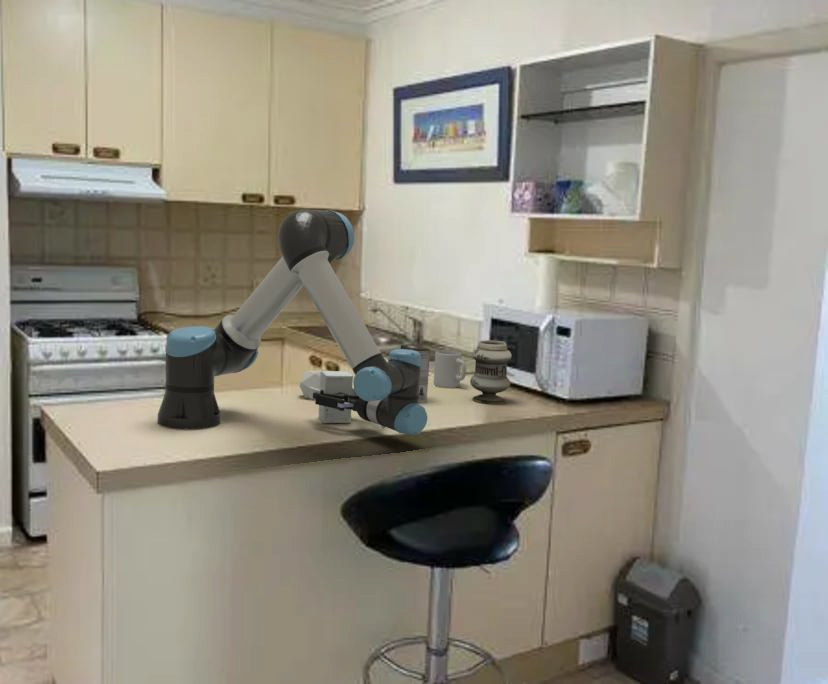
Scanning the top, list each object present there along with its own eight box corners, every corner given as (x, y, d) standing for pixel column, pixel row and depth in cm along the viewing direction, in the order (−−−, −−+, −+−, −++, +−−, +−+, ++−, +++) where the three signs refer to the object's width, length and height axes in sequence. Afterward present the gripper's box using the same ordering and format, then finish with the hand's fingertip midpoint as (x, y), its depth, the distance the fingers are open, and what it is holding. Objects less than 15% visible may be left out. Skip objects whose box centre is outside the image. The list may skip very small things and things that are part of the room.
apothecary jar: (465, 402, 262) (469, 342, 260) (472, 395, 274) (476, 337, 272) (506, 406, 260) (510, 346, 257) (511, 399, 271) (515, 341, 269)
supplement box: (322, 424, 225) (324, 375, 224) (318, 417, 233) (320, 370, 231) (351, 423, 227) (353, 375, 226) (345, 417, 235) (347, 370, 233)
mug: (428, 384, 287) (429, 351, 286) (445, 382, 293) (447, 349, 292) (455, 391, 279) (457, 356, 277) (473, 388, 285) (475, 355, 284)
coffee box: (396, 396, 265) (399, 344, 263) (416, 396, 267) (419, 344, 265) (407, 403, 257) (410, 348, 254) (428, 402, 259) (431, 348, 257)
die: (319, 404, 252) (337, 376, 255) (293, 388, 251) (311, 360, 254) (316, 408, 260) (333, 381, 263) (291, 392, 259) (309, 365, 262)
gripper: (339, 427, 209) (289, 408, 226) (411, 418, 223) (359, 401, 240) (340, 396, 208) (290, 379, 225) (412, 389, 222) (360, 374, 239)
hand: (326, 390), depth 232 cm, fingers closed on supplement box, 9 cm apart
